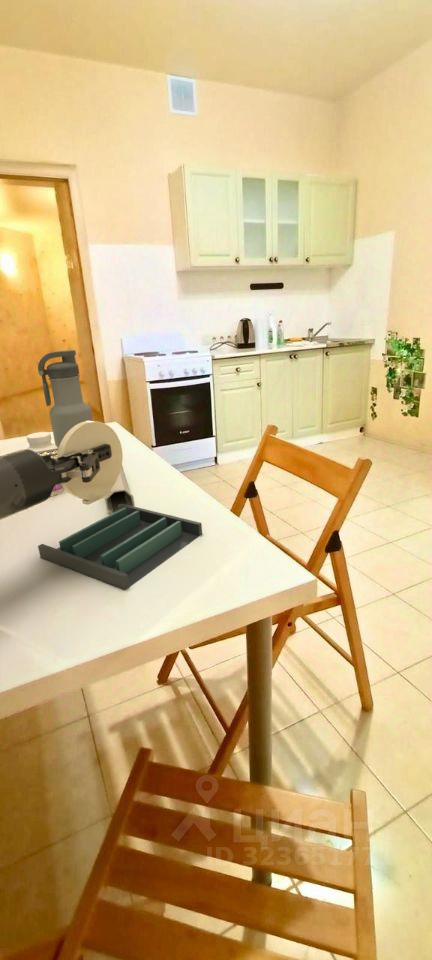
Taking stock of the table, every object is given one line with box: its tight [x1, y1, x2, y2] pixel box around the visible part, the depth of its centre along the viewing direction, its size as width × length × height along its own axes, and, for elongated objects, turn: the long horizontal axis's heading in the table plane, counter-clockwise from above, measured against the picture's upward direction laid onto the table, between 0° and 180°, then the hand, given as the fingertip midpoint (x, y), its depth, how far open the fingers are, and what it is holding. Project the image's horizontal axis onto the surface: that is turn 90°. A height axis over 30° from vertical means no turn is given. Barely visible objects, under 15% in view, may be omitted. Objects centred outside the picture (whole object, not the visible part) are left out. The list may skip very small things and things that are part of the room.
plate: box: [57, 420, 124, 506], centre depth 68 cm, size 1×12×12 cm, turn 147°
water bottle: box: [37, 349, 94, 448], centre depth 108 cm, size 10×10×28 cm
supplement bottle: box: [26, 431, 65, 497], centre depth 95 cm, size 7×7×13 cm
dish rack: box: [37, 503, 203, 591], centre depth 70 cm, size 18×18×3 cm
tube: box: [104, 466, 136, 515], centre depth 94 cm, size 5×5×25 cm
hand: (105, 449), depth 70 cm, fingers closed on plate, 1 cm apart
